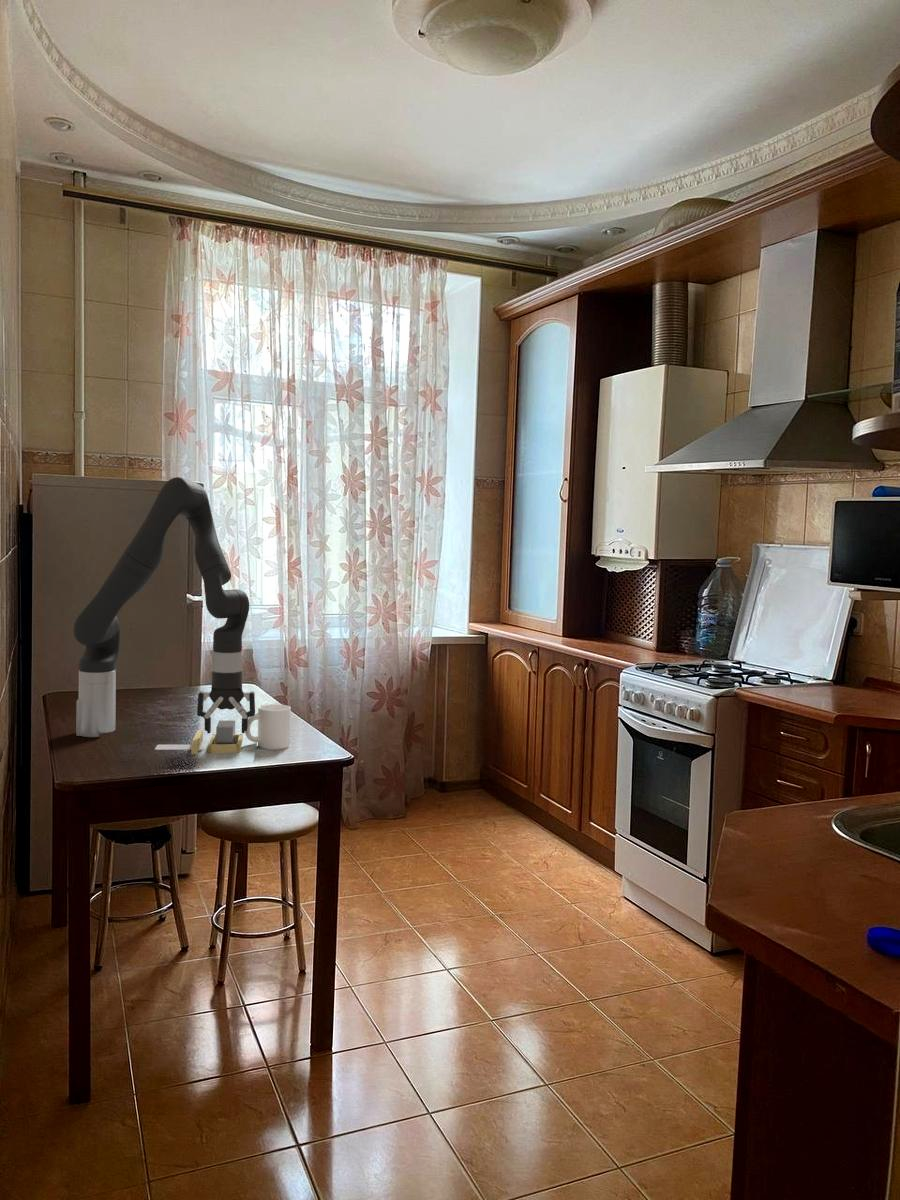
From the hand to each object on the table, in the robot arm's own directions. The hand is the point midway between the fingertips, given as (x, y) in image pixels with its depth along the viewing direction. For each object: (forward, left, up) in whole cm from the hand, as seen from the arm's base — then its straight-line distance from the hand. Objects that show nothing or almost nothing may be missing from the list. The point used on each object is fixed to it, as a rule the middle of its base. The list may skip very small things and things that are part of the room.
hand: (226, 732), depth 236 cm
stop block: (0, 0, -4) cm, 4 cm away
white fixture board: (-6, 0, -5) cm, 8 cm away
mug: (+10, +4, -5) cm, 12 cm away
